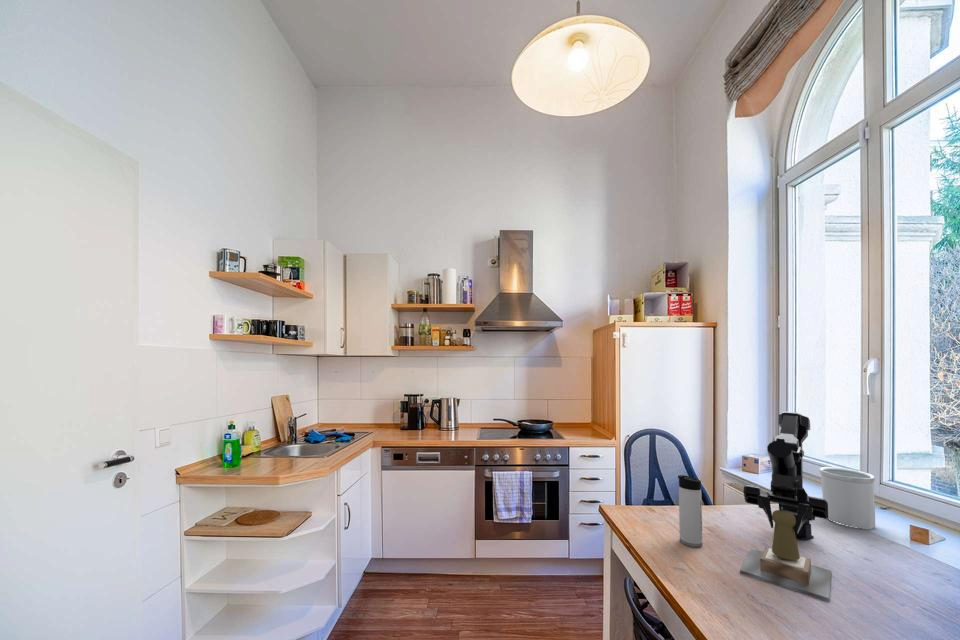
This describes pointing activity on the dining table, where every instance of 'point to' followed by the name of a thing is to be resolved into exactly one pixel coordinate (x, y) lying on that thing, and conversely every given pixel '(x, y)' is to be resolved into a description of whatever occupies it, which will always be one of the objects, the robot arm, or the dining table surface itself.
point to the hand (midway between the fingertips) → (784, 530)
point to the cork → (784, 535)
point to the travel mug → (690, 511)
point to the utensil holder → (849, 496)
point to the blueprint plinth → (811, 590)
